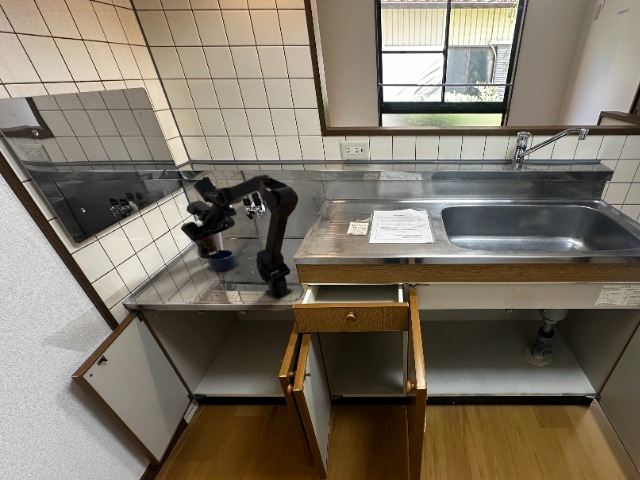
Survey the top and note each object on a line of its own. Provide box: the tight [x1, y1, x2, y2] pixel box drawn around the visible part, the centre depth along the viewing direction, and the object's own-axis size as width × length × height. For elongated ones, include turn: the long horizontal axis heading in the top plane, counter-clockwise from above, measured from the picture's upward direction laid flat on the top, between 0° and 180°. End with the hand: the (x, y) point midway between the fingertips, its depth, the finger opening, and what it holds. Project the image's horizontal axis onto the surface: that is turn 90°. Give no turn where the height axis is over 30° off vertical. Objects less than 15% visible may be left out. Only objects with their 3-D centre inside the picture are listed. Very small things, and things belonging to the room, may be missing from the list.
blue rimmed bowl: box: [206, 249, 237, 272], centre depth 130 cm, size 10×10×5 cm
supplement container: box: [194, 231, 218, 259], centre depth 121 cm, size 7×7×10 cm
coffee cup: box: [195, 219, 224, 250], centre depth 135 cm, size 10×10×15 cm
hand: (201, 238), depth 120 cm, fingers closed on supplement container, 7 cm apart
